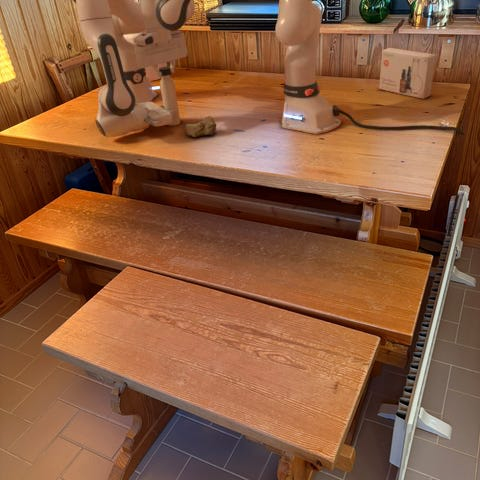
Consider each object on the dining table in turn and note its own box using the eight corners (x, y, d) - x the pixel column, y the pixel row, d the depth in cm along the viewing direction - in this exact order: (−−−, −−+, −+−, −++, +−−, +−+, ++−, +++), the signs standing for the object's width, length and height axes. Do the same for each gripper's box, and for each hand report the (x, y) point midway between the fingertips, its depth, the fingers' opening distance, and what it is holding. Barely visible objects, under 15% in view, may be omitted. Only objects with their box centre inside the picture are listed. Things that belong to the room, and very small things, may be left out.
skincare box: (377, 89, 194) (381, 50, 185) (385, 86, 197) (389, 47, 188) (423, 99, 180) (429, 56, 171) (430, 95, 183) (437, 53, 174)
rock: (185, 134, 174) (189, 139, 165) (182, 117, 171) (186, 121, 162) (213, 129, 176) (218, 134, 167) (210, 112, 173) (216, 117, 164)
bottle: (168, 121, 184) (158, 68, 173) (181, 120, 184) (172, 67, 173) (166, 126, 180) (156, 72, 168) (179, 125, 180) (170, 71, 168)
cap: (170, 72, 173) (169, 65, 172) (171, 74, 170) (170, 68, 169) (159, 73, 173) (158, 67, 172) (160, 76, 169) (159, 70, 168)
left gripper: (149, 116, 165) (183, 106, 170) (129, 103, 179) (161, 94, 185) (152, 133, 168) (186, 123, 174) (132, 118, 183) (164, 110, 188)
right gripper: (178, 28, 171) (184, 67, 179) (129, 39, 161) (137, 80, 169) (187, 30, 167) (193, 69, 174) (138, 41, 157) (146, 83, 165)
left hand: (173, 108), depth 179 cm, fingers closed on bottle, 5 cm apart
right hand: (165, 74), depth 171 cm, fingers closed on cap, 4 cm apart
